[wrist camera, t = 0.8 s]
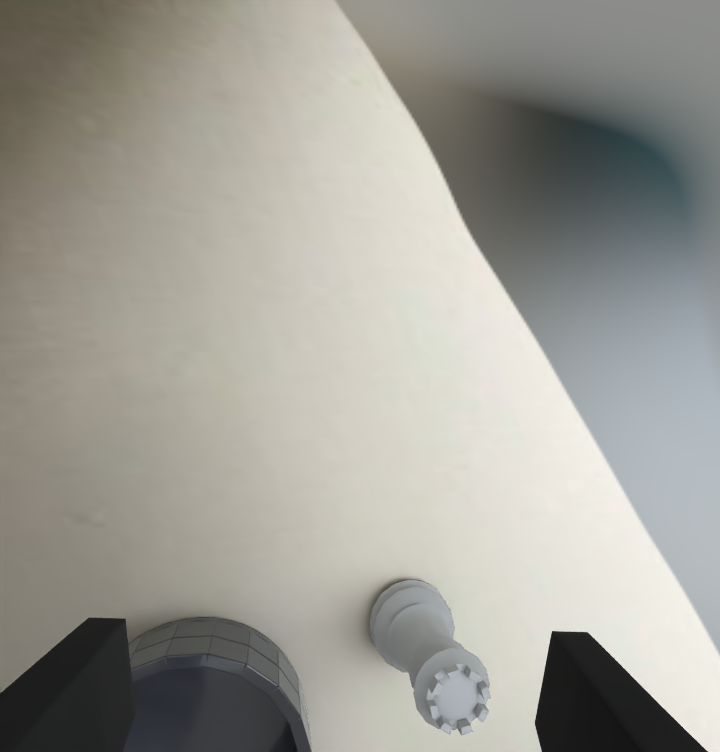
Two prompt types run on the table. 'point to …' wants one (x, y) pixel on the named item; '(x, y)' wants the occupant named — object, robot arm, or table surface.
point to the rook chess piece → (430, 655)
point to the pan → (214, 691)
